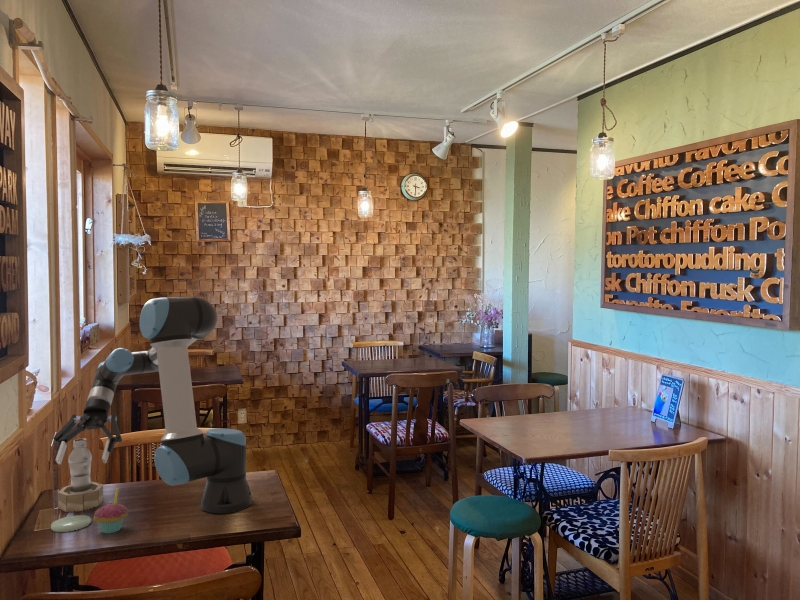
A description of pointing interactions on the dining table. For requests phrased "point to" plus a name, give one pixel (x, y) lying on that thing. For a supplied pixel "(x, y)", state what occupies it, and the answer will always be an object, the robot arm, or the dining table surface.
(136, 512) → the dining table surface
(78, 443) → the plastic bottle
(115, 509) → the cupcake
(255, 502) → the dining table surface
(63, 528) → the sage coaster
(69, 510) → the birch collar
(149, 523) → the dining table surface
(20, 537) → the dining table surface
